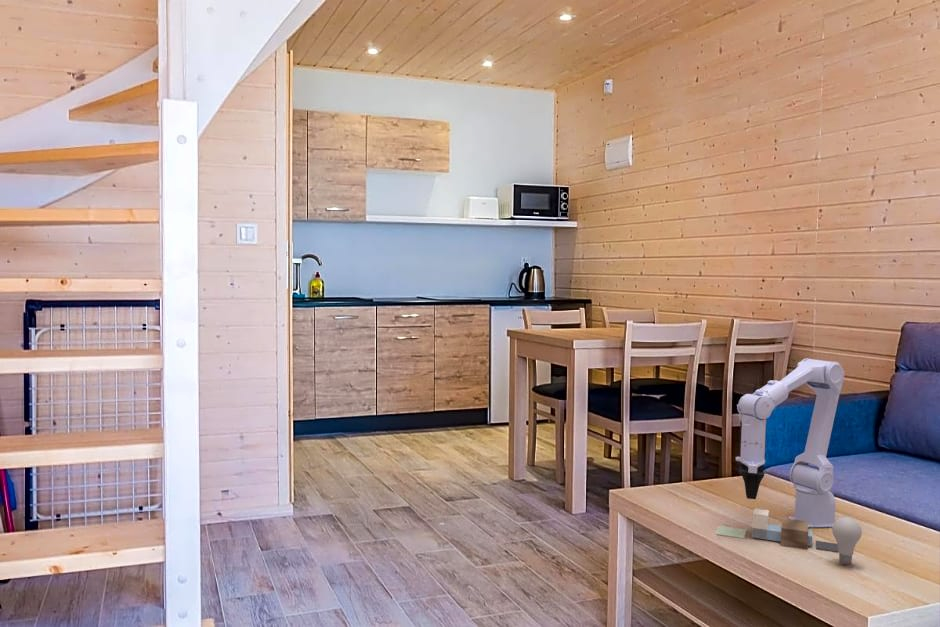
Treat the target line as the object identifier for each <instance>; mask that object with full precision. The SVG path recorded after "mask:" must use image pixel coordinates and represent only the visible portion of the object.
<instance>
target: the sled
mask: <svg viewBox="0 0 940 627" xmlns="http://www.w3.org/2000/svg"><path fill="white" fill-rule="evenodd" d="M769 513H770V510H769V509H763V508H753V512H752V529H751V530H752V531H751V533H752V534H751V538H753V539H761V540H768V541H775V542H780V543H781V528H782V525H777V524H776V525H775V524H770V523H769V516H770V514H769ZM808 547H813V530H812V529H808Z"/></svg>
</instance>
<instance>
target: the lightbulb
mask: <svg viewBox="0 0 940 627" xmlns="http://www.w3.org/2000/svg"><path fill="white" fill-rule="evenodd" d="M831 531H832V534H833V537H834V539H835V541H836V544H838V552H839V553H838V552H837V553H838V559H839V562H840V563H842V564H843V565H844V566H847V565H848V566H849V565H850V564H851V563H852V560H853V555H854V552H855V551H854V550H855V548H856V545H857V544H858V542H859V541H860V539H861V537H862V534H863V533H862V532H863V531H862V527H861V525H860V524H859V522H858V521H857V520H856V519H854V518H852V517H848V516H841V517H838V518H837V519H835V522H834V524H833V526H832V527H831Z"/></svg>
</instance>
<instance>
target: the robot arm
mask: <svg viewBox="0 0 940 627" xmlns="http://www.w3.org/2000/svg"><path fill="white" fill-rule="evenodd" d="M844 377H845V371H844V369H843V367H842V365H841V364H840V363H839V362H837V361H830V360H828V361H827V360H823V359H822V360H820V359H813V358H809V357H806V358H803V359H802V360H801V361H799V362H798V363H797V365H796V368H794V370H792V371H791V372H790V373H788V374H787V375H786V376H784V377H783V378H782V379H781V380H768V381H767V384H765V385H763V386H762V387H761V388H759V389H756V390H755V391H754V392H753V393H746V394H744V395H743V396H741V397H740V399H739V400H738V404H736V407H737V408H736V409H737V412H738V413H739V420H740V422H741V435H740V436H741V438H740V456H735V461H736V462H740V463H739V465H740V466H741V469H740V474H741V477H742V479H743V483H744V489H745V496H746V499H749V500H756V499H757V496H758V491H759V487H760V485H761V482H762V480H763V479H764V476H765V472H762V469H763V468H764V465H765V464H766V460H765V454H766V453H765V452H766V429H767V428H766V427H767V426H766V425H767V419H768V418H770V416H771V415H772V412H773V410H774V409H775V408H776V407H777V406H778V405H780V404H782V403H783V402H784V401H786V400H787V399H788V397H789V393H790V392H792V391H793V390H795V389H797V388H799V387H801V386H803V385H804V384H806V385H807V386H808V387H809V389H811V390H812V391H813V393H814V394H815V395H816V397H815V401H814V407H813V411H812V415H811V420H810V424H809V425H810V426H809V430H808V434H807V439H806V444H805V448H804V451H803V453H800V454H797V456H795V459H794V461H793V464H792V466H791V468H790V469H789V480H790V482H791V484H793V489H795V501H794V503H795V504H794V515H793V516H789V515H788V516H787V519H794V520H802V521H808V528H832V526H833V524H834V522H835V521H836V499H835V495H834V494H833V493H832V491H831V489H832V488H833V485H834V469H835V467H834V464H832V463H831V462H830V460H829V459H828V458H827V455H828V454H827V453H828V451H829V450H828V448H829V446H830V440H831V435H832V430H833V427H834V422H835V421H834V420H835V416H836V412H837V407H838V403H839V398H840V394H841V392H842V387H843V382H844ZM816 466H817V467H816Z"/></svg>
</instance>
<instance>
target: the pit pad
mask: <svg viewBox="0 0 940 627" xmlns="http://www.w3.org/2000/svg"><path fill="white" fill-rule="evenodd" d="M815 548H816V550H818V551H819V550H820V551H826V552H832V553H833V552H834V553H838V554H839V552H838V544H837V542H836V543H835V542H827V541H821V540H815Z"/></svg>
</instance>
